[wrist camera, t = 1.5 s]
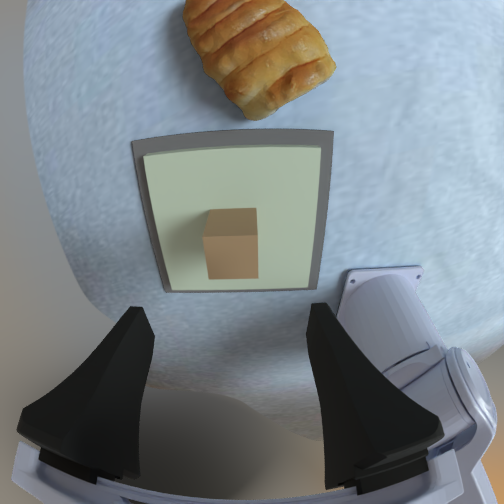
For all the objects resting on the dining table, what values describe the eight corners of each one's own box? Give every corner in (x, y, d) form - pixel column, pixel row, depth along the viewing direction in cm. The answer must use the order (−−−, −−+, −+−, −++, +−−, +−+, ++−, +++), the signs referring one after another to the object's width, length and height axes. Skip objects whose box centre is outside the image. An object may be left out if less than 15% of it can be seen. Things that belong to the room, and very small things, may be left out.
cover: (306, 280, 22) (315, 319, 18) (174, 283, 22) (162, 321, 19) (318, 145, 16) (338, 163, 12) (147, 153, 16) (120, 174, 12)
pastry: (161, 28, 12) (140, 15, 8) (246, -30, 9) (246, -55, 6) (255, 127, 16) (257, 136, 12) (340, 71, 13) (363, 68, 10)
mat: (316, 287, 23) (316, 289, 23) (166, 290, 23) (165, 292, 23) (332, 130, 15) (333, 131, 15) (133, 140, 16) (132, 141, 15)
